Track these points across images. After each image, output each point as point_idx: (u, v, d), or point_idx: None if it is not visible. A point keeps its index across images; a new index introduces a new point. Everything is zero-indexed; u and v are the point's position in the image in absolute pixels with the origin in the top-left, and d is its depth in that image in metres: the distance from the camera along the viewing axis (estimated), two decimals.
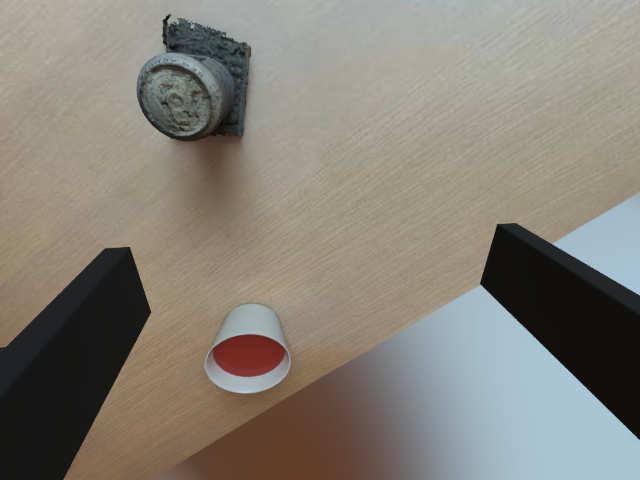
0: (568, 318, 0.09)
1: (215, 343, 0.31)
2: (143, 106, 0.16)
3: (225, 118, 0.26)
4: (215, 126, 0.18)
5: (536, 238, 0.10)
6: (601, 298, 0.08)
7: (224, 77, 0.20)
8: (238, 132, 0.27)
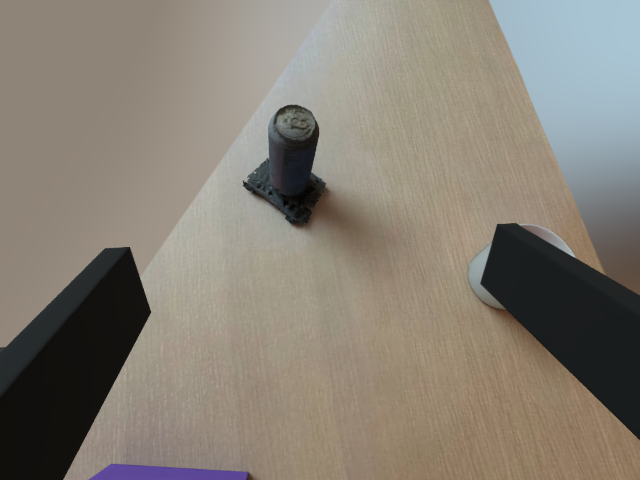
0: (568, 318, 0.09)
1: None
2: (287, 138, 0.25)
3: (311, 183, 0.36)
4: (316, 122, 0.27)
5: (536, 238, 0.10)
6: (601, 298, 0.08)
7: None
8: (323, 182, 0.36)
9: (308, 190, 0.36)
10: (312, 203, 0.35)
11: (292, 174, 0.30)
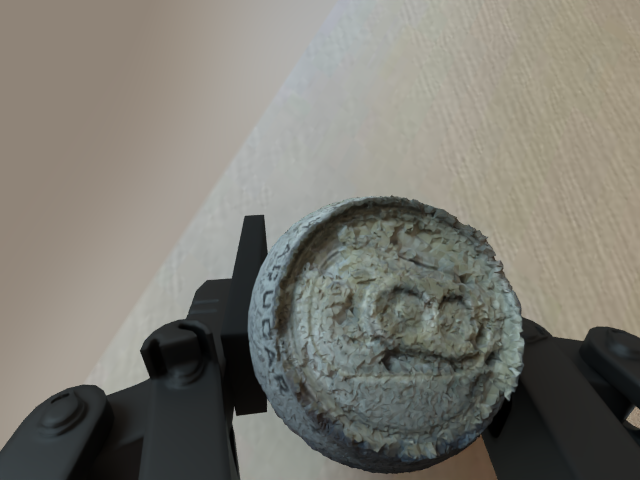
0: None
1: None
2: (370, 450, 0.04)
3: None
4: None
5: None
6: None
7: None
8: None
9: None
10: None
11: None
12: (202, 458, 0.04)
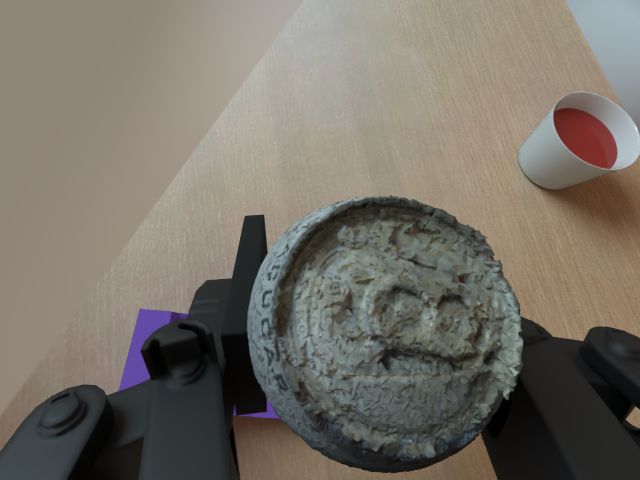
0: None
1: (556, 140, 0.29)
2: (369, 449, 0.04)
3: None
4: None
5: None
6: None
7: None
8: None
9: None
10: None
11: None
12: (202, 458, 0.04)
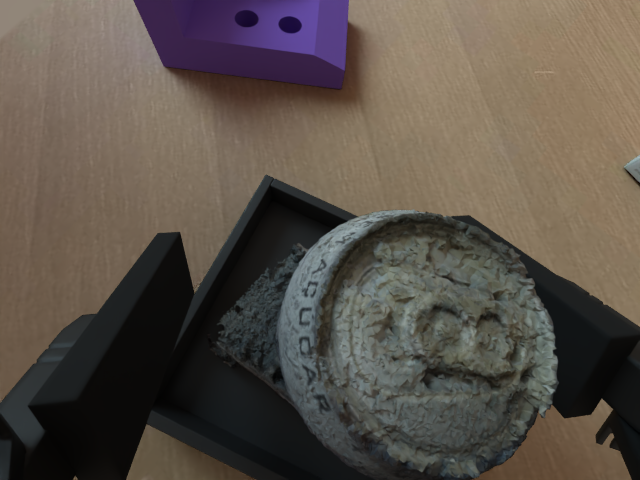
0: None
1: None
2: (413, 470, 0.04)
3: None
4: None
5: (483, 229, 0.11)
6: None
7: None
8: None
9: None
10: None
11: None
12: None
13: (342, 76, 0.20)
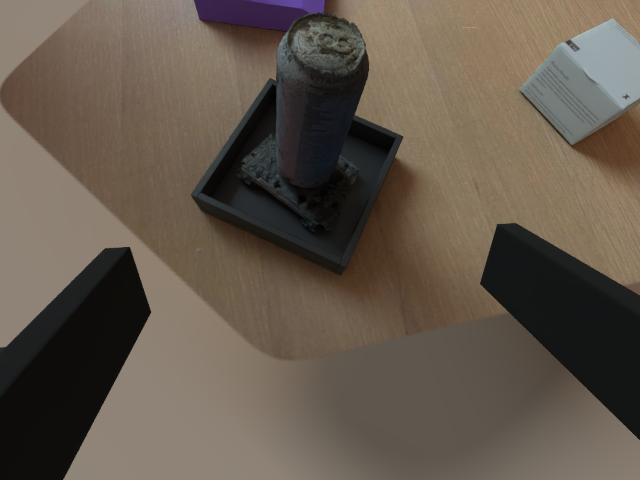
0: (568, 318, 0.09)
1: None
2: (315, 71, 0.13)
3: (338, 168, 0.24)
4: None
5: (536, 238, 0.10)
6: (601, 298, 0.08)
7: None
8: (355, 168, 0.24)
9: (333, 180, 0.24)
10: (341, 199, 0.23)
11: (317, 149, 0.18)
12: None
13: None
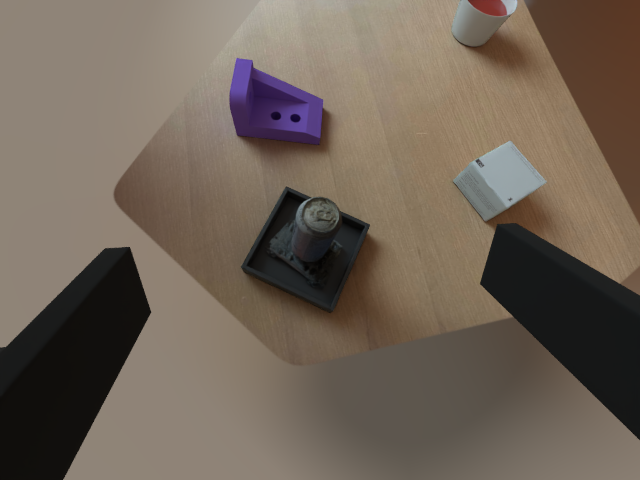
0: (568, 318, 0.09)
1: (466, 1, 0.49)
2: (315, 231, 0.28)
3: (328, 247, 0.38)
4: (339, 210, 0.30)
5: (536, 238, 0.10)
6: (601, 298, 0.08)
7: None
8: (340, 245, 0.39)
9: (326, 253, 0.39)
10: (331, 267, 0.38)
11: (315, 251, 0.32)
12: None
13: (319, 140, 0.44)
